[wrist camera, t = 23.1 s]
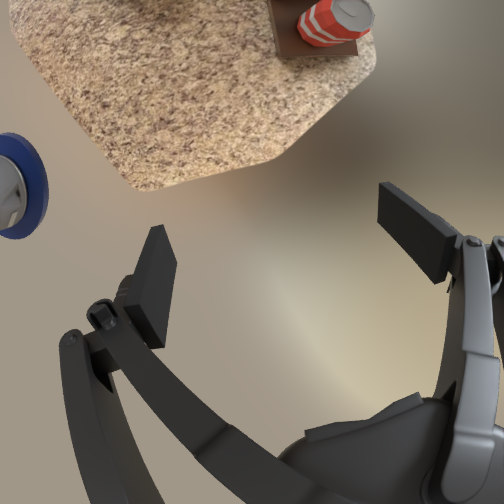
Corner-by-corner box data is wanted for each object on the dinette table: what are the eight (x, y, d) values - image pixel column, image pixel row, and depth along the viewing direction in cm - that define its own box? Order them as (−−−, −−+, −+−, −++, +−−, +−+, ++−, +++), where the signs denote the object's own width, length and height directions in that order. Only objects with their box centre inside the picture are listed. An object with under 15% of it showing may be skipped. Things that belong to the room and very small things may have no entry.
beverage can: (308, 3, 27) (341, -21, 17) (344, 27, 29) (386, 13, 19) (288, 31, 30) (315, 12, 20) (325, 55, 32) (364, 46, 22)
